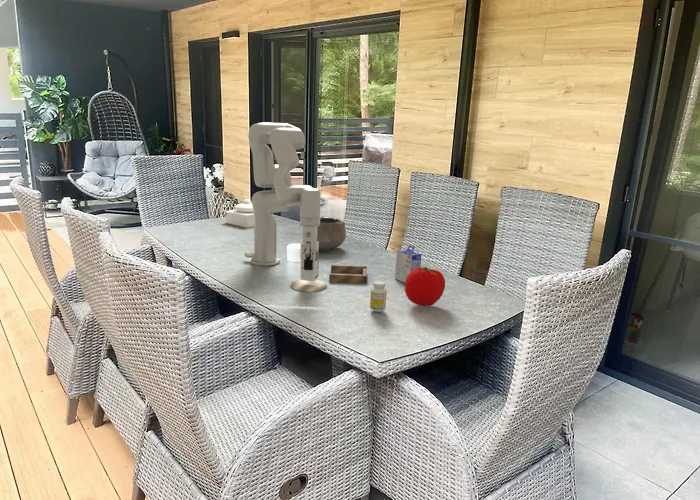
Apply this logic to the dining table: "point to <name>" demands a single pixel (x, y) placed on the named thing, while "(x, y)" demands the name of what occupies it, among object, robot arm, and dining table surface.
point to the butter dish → (241, 215)
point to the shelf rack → (348, 277)
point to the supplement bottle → (378, 296)
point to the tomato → (424, 286)
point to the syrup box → (313, 274)
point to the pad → (308, 285)
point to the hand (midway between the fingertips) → (309, 266)
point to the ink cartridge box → (406, 263)
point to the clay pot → (330, 233)
